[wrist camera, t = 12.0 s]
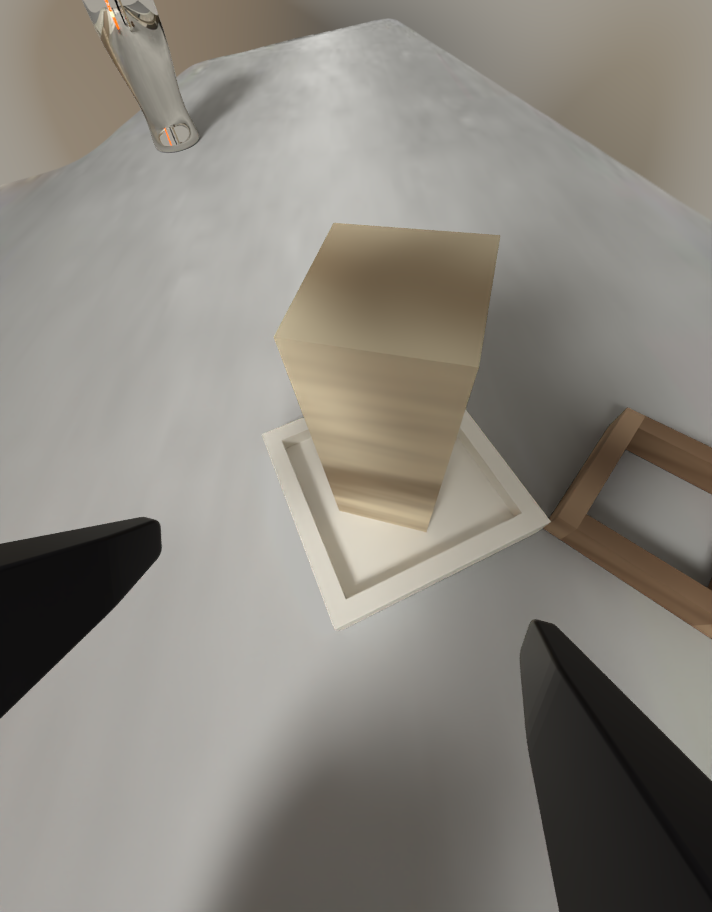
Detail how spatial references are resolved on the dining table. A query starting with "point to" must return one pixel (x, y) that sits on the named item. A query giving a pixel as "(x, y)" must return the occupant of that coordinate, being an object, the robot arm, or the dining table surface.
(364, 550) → the tray
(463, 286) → the tan wooden block
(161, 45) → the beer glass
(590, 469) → the walnut collar
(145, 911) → the dining table surface
